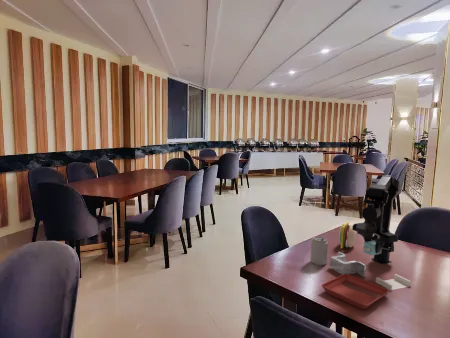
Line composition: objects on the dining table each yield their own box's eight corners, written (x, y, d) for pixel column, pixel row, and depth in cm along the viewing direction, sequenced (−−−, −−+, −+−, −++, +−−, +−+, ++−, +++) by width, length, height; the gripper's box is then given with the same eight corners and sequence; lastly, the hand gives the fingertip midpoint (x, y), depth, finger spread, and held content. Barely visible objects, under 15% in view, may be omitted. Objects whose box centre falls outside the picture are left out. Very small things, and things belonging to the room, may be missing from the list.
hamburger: (352, 251, 162) (354, 229, 160) (336, 247, 166) (337, 226, 165) (357, 244, 172) (358, 223, 170) (341, 241, 176) (343, 221, 175)
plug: (373, 250, 135) (374, 240, 135) (381, 253, 131) (382, 243, 131) (361, 252, 132) (362, 242, 132) (369, 255, 129) (369, 245, 128)
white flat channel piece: (395, 279, 130) (395, 273, 130) (410, 287, 123) (411, 281, 123) (375, 283, 126) (376, 277, 126) (390, 291, 119) (390, 285, 119)
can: (327, 266, 141) (329, 241, 139) (310, 265, 142) (312, 240, 141) (325, 260, 148) (327, 236, 147) (309, 258, 150) (311, 235, 148)
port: (338, 262, 146) (339, 251, 145) (365, 277, 131) (366, 265, 130) (324, 264, 143) (324, 253, 142) (349, 280, 128) (350, 267, 127)
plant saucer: (344, 280, 129) (345, 272, 128) (389, 298, 115) (390, 289, 115) (319, 293, 117) (320, 285, 117) (366, 315, 104) (367, 305, 103)
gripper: (344, 212, 136) (342, 246, 137) (380, 224, 119) (377, 262, 120) (362, 210, 140) (360, 243, 142) (400, 221, 123) (397, 258, 125)
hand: (372, 251), depth 132 cm, fingers closed on plug, 4 cm apart
